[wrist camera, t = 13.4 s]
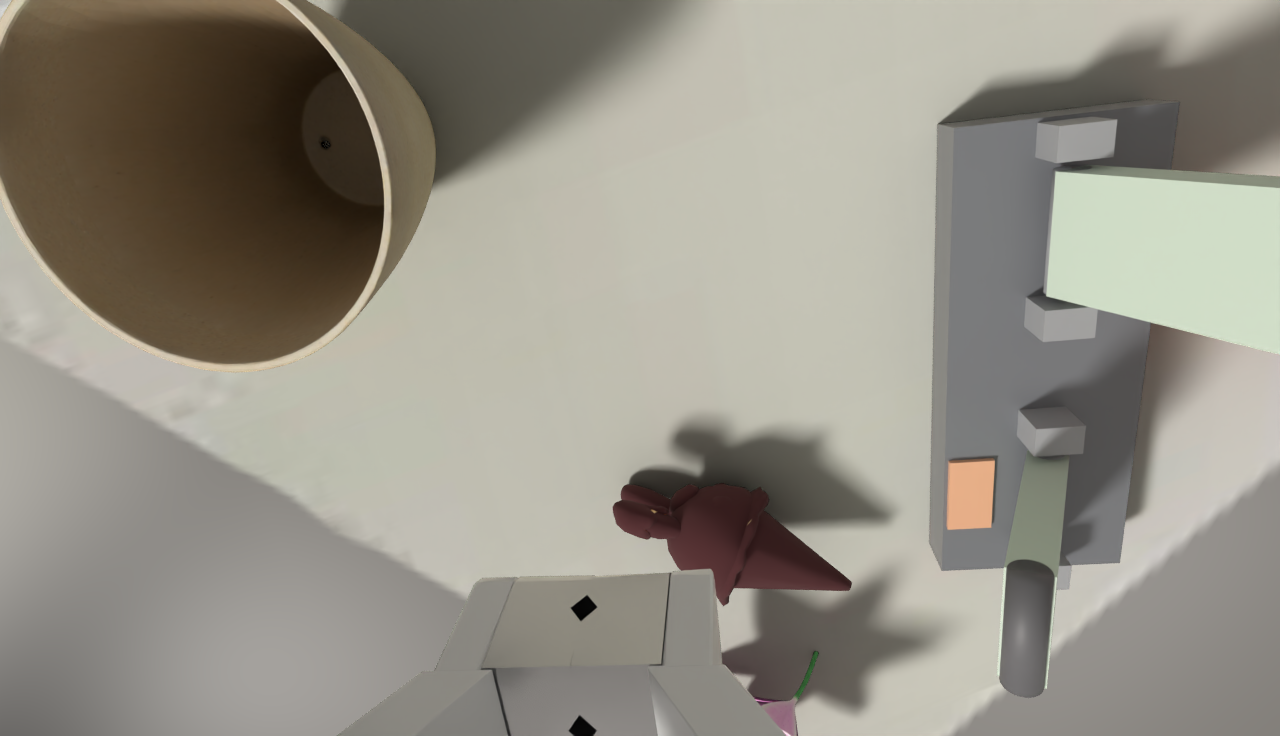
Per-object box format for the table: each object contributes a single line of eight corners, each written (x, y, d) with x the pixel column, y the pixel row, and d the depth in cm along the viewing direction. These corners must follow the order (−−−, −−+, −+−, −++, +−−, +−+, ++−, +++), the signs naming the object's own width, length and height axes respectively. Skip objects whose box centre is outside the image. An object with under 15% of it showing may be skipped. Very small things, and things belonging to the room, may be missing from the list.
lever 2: (1041, 170, 35) (1371, 194, 24) (1073, 164, 36) (1410, 184, 24) (1032, 292, 37) (1332, 367, 26) (1063, 284, 38) (1368, 354, 27)
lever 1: (1028, 443, 41) (1001, 579, 31) (1070, 448, 40) (1055, 590, 30) (1021, 535, 43) (994, 689, 33) (1061, 542, 42) (1045, 703, 32)
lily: (709, 576, 51) (650, 705, 45) (885, 628, 46) (845, 782, 40) (729, 666, 59) (681, 787, 52) (882, 719, 53) (849, 861, 47)
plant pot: (325, 304, 45) (136, 418, 30) (192, 55, 40) (-108, 46, 26) (548, 221, 42) (460, 303, 27) (432, -59, 37) (249, -144, 22)
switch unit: (937, 124, 38) (969, 132, 33) (1146, 99, 37) (1212, 103, 32) (929, 543, 47) (953, 596, 43) (1096, 535, 46) (1141, 589, 41)
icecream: (888, 551, 41) (631, 455, 41) (837, 671, 42) (587, 574, 42) (862, 513, 47) (642, 430, 48) (819, 616, 48) (604, 533, 49)
